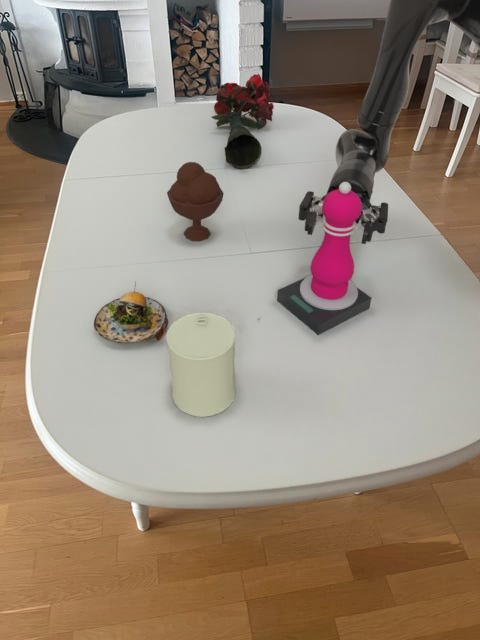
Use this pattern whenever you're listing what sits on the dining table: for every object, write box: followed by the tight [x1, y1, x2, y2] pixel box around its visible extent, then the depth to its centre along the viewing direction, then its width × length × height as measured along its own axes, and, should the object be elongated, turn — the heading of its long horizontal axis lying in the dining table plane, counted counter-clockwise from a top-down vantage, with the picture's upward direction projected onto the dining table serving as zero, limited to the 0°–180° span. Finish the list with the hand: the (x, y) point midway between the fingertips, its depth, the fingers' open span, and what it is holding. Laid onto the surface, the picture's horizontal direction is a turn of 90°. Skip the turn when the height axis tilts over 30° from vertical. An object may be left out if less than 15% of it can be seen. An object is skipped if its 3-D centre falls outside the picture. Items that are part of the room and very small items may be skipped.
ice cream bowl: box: [166, 161, 225, 242], centre depth 103 cm, size 11×11×15 cm
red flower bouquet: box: [211, 73, 275, 170], centre depth 141 cm, size 16×18×35 cm
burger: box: [93, 281, 169, 344], centre depth 84 cm, size 12×12×8 cm
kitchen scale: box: [276, 274, 372, 336], centre depth 91 cm, size 12×11×3 cm
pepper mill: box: [310, 182, 362, 300], centre depth 84 cm, size 7×7×20 cm
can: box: [166, 312, 236, 418], centre depth 72 cm, size 9×9×12 cm
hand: (337, 234), depth 81 cm, fingers open, 8 cm apart
